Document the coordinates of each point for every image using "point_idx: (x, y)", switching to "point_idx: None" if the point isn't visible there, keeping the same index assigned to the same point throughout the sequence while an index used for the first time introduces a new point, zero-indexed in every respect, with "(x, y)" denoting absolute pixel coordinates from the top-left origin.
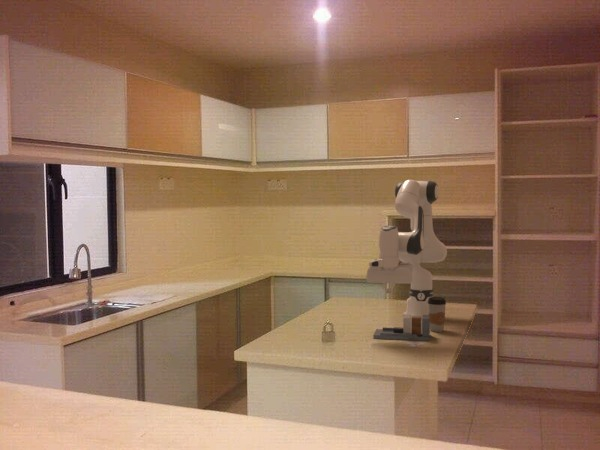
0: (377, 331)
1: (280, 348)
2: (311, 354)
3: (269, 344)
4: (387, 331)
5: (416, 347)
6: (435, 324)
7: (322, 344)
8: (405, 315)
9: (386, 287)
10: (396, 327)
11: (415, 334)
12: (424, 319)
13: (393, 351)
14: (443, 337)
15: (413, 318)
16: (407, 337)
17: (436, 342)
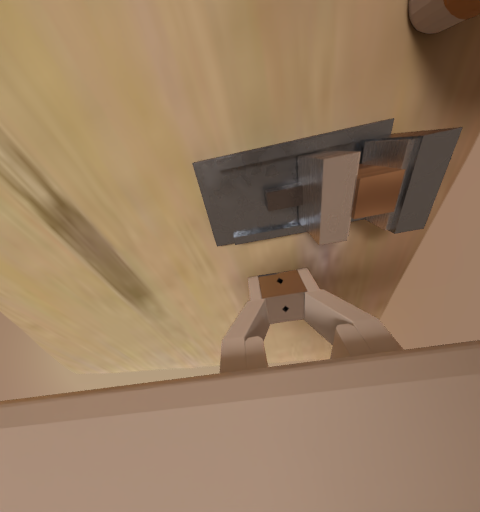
0: (210, 199)
1: (106, 351)
2: (171, 358)
3: (69, 342)
4: (240, 186)
5: (328, 278)
6: (460, 17)
7: (146, 317)
8: (328, 190)
9: (261, 331)
10: (276, 194)
11: None
12: (401, 230)
13: None
14: None
15: (359, 216)
16: None
17: None
